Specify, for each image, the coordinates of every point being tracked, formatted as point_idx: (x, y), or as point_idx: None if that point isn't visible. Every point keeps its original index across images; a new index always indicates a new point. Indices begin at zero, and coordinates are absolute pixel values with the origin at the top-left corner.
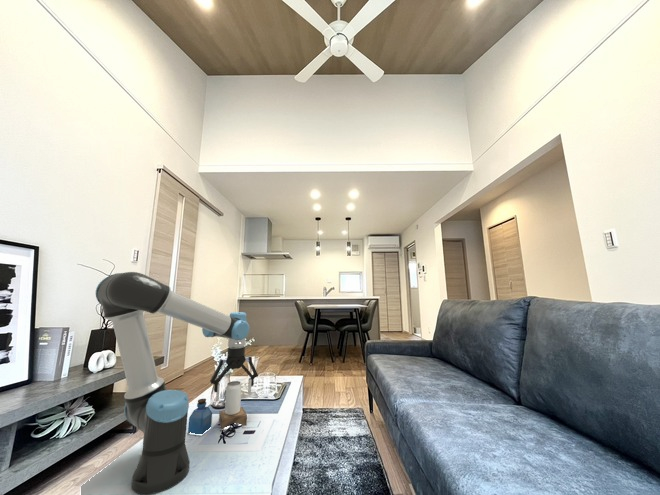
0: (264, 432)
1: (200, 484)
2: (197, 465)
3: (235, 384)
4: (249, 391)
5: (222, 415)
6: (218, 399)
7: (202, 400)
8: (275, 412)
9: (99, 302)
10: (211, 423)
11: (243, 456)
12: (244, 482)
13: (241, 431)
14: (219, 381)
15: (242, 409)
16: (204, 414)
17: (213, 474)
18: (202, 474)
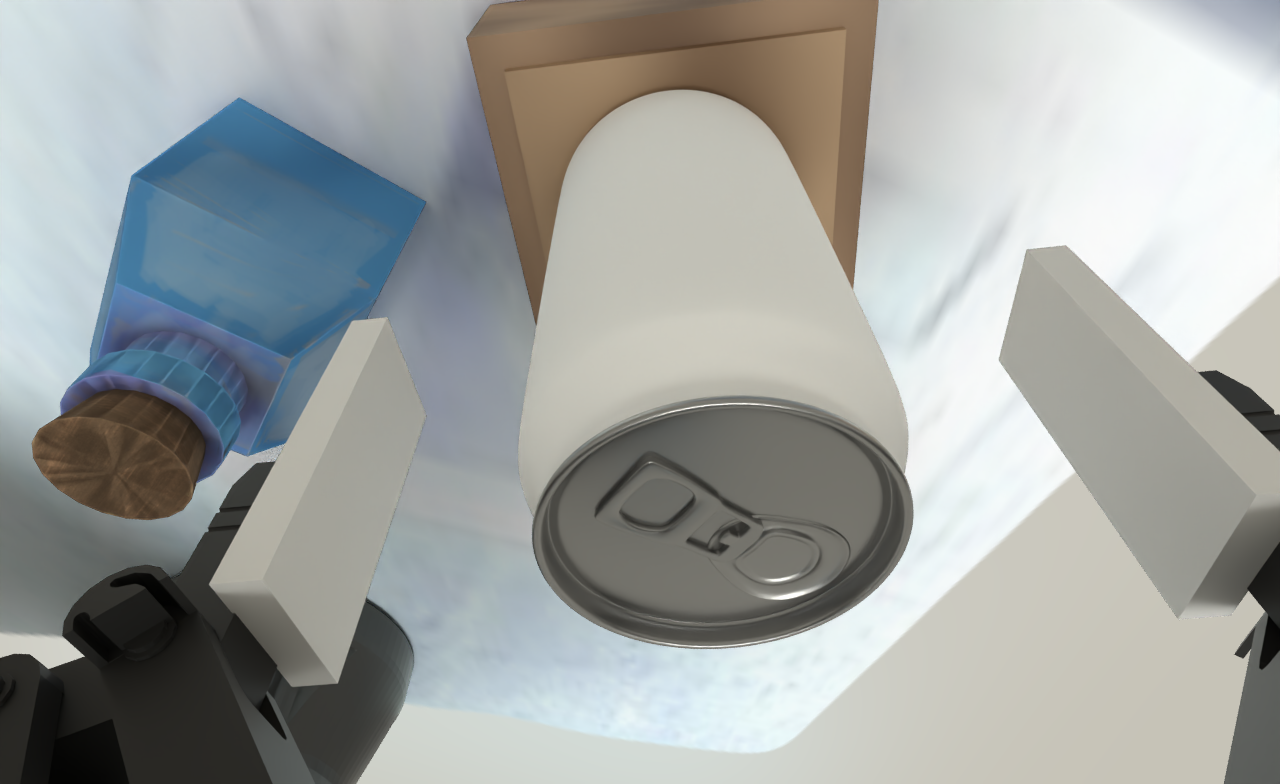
0: (926, 450)
1: (496, 714)
2: (446, 624)
3: (750, 576)
4: (1033, 405)
5: (535, 231)
6: (417, 432)
7: (137, 493)
8: None
9: None
10: (412, 227)
11: None
12: (680, 741)
13: None
14: (298, 755)
15: (844, 126)
16: (295, 419)
17: (545, 686)
18: (491, 676)
